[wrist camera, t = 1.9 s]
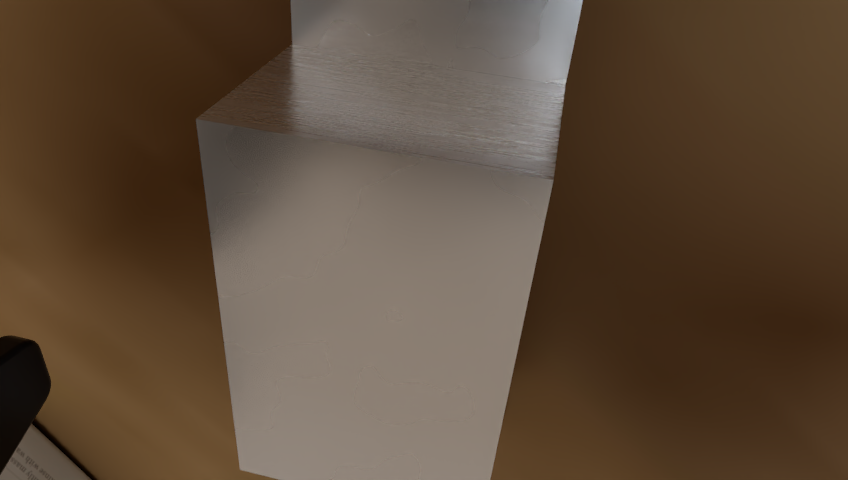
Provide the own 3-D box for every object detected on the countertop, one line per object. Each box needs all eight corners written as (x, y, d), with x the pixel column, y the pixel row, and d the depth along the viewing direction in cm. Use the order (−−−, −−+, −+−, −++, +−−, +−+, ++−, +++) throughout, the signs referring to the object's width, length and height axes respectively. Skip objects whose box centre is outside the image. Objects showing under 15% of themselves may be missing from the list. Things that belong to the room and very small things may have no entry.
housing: (496, 415, 16) (469, 575, 13) (316, 375, 16) (246, 517, 13) (586, -27, 10) (580, 54, 7) (307, -62, 11) (180, -4, 8)
